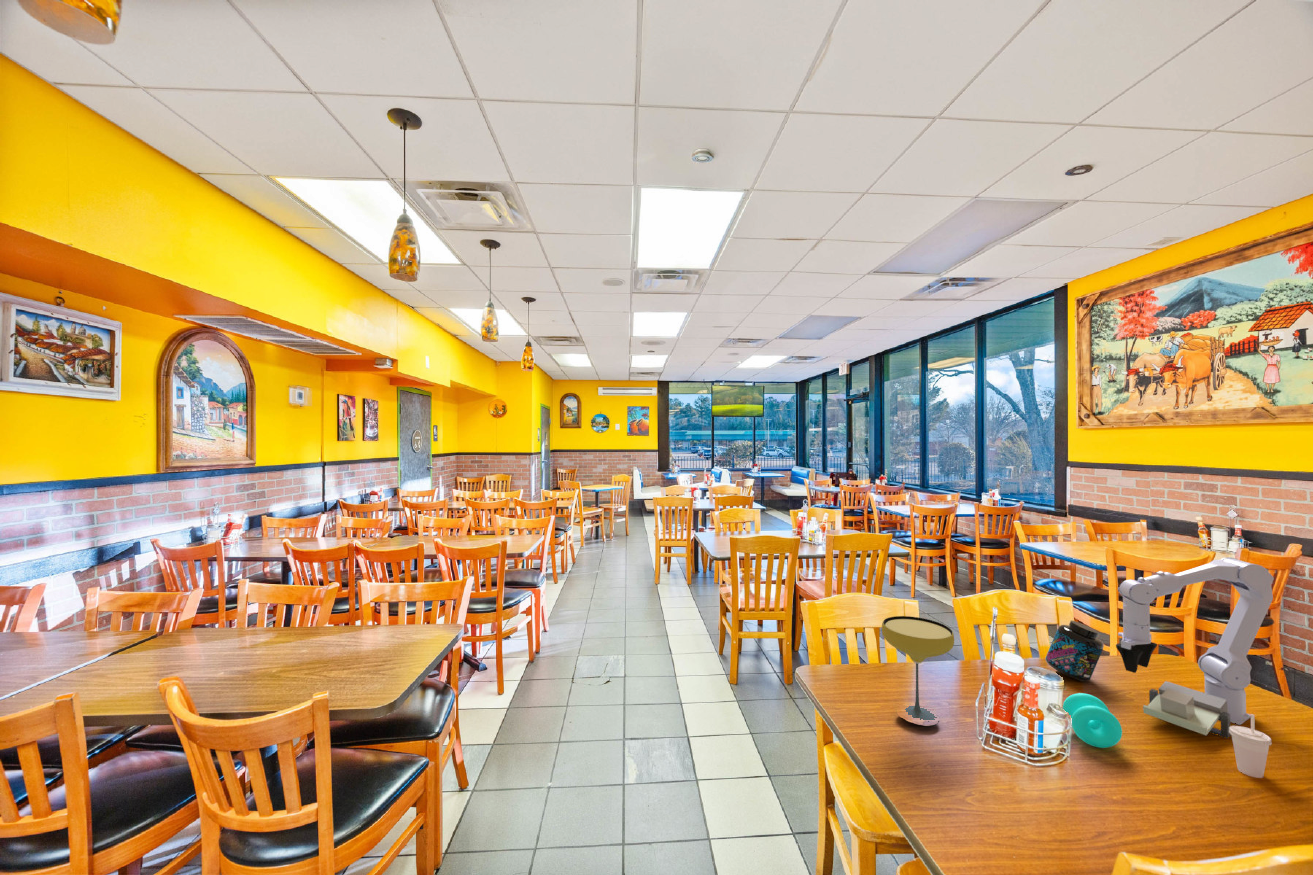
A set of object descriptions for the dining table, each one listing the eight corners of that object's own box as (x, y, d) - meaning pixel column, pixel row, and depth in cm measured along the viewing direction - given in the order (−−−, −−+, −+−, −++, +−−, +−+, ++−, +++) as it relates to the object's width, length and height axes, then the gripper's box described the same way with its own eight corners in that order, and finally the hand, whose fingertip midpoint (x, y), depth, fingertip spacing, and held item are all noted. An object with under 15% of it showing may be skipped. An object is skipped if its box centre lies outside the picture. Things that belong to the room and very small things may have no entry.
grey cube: (1169, 705, 138) (1167, 688, 138) (1195, 713, 134) (1193, 696, 133) (1161, 713, 136) (1159, 696, 135) (1187, 722, 131) (1185, 704, 131)
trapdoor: (1166, 692, 145) (1165, 680, 145) (1227, 712, 135) (1226, 699, 134) (1144, 717, 138) (1142, 705, 138) (1206, 740, 128) (1205, 727, 127)
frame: (1152, 709, 145) (1152, 688, 145) (1230, 736, 131) (1230, 713, 131) (1149, 711, 143) (1149, 690, 144) (1227, 739, 130) (1227, 716, 130)
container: (1084, 674, 168) (1104, 629, 165) (1091, 689, 157) (1113, 642, 155) (1041, 655, 174) (1060, 612, 171) (1046, 668, 163) (1065, 623, 161)
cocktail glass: (883, 725, 136) (883, 633, 136) (880, 694, 153) (880, 612, 153) (960, 740, 129) (959, 643, 130) (948, 706, 146) (948, 620, 146)
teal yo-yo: (1108, 733, 133) (1108, 695, 133) (1124, 754, 124) (1124, 713, 124) (1061, 724, 137) (1061, 687, 137) (1073, 744, 128) (1073, 705, 128)
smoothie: (1281, 786, 112) (1280, 723, 112) (1246, 782, 114) (1246, 720, 114) (1253, 767, 119) (1253, 708, 119) (1221, 764, 120) (1220, 705, 120)
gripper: (1129, 614, 155) (1129, 658, 154) (1107, 621, 148) (1108, 668, 148) (1160, 621, 148) (1161, 667, 148) (1139, 629, 142) (1139, 678, 141)
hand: (1136, 668), depth 148 cm, fingers open, 7 cm apart
